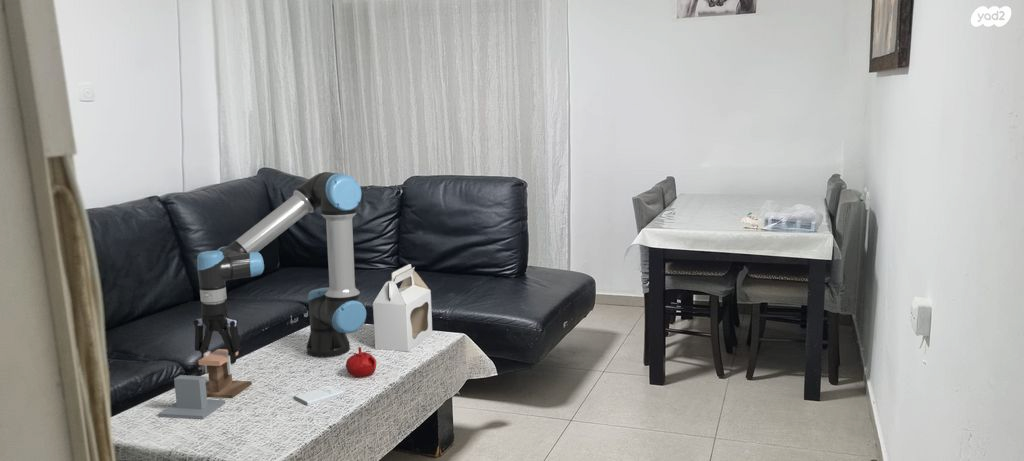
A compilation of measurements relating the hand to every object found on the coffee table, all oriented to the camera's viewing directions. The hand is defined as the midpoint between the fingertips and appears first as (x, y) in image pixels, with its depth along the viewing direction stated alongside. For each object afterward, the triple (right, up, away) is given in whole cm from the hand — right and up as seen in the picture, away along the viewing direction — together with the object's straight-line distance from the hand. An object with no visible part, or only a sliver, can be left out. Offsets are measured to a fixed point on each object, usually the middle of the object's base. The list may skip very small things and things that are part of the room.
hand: (220, 372), depth 248 cm
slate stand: (-3, -8, -15) cm, 17 cm away
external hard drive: (+32, -7, -6) cm, 34 cm away
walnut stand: (0, -6, +1) cm, 6 cm away
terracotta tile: (0, +4, -1) cm, 4 cm away
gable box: (+51, +3, +47) cm, 69 cm away
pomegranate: (+42, -3, +12) cm, 44 cm away
